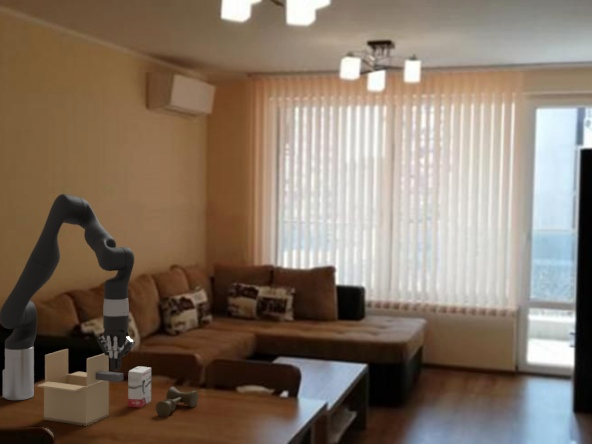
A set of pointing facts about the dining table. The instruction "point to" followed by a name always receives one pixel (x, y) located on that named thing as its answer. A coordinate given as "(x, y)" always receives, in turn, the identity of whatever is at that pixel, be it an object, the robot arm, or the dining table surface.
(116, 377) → the flap
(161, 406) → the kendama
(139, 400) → the ink box
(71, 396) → the carton
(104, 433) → the dining table surface
